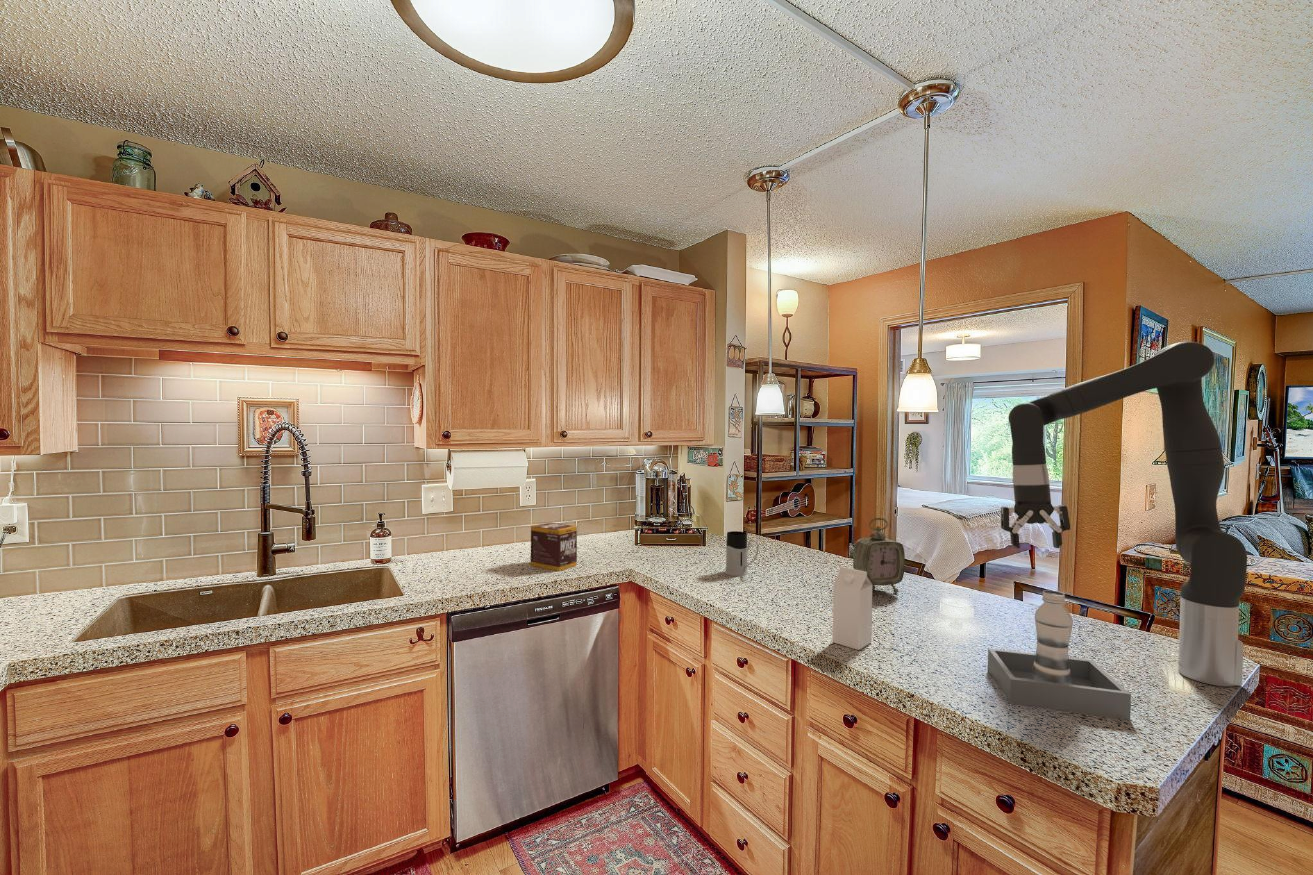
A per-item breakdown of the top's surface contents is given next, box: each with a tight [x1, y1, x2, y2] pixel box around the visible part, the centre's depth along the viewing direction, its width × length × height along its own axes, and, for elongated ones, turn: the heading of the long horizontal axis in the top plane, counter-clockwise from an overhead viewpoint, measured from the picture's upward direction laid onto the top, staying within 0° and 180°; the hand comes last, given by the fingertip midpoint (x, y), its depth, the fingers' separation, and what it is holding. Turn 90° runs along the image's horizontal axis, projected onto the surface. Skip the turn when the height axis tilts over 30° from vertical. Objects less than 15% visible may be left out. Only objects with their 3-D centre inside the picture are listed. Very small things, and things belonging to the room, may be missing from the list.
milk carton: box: [832, 566, 873, 651], centre depth 141 cm, size 7×7×19 cm
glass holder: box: [724, 530, 760, 577], centre depth 205 cm, size 9×14×15 cm, turn 43°
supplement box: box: [529, 522, 578, 572], centre depth 216 cm, size 10×15×16 cm
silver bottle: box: [1032, 589, 1074, 684], centre depth 116 cm, size 6×7×20 cm
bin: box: [987, 648, 1132, 721], centre depth 116 cm, size 20×16×5 cm
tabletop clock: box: [852, 517, 906, 594], centre depth 185 cm, size 14×9×25 cm, turn 102°
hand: (1036, 547), depth 138 cm, fingers open, 8 cm apart
